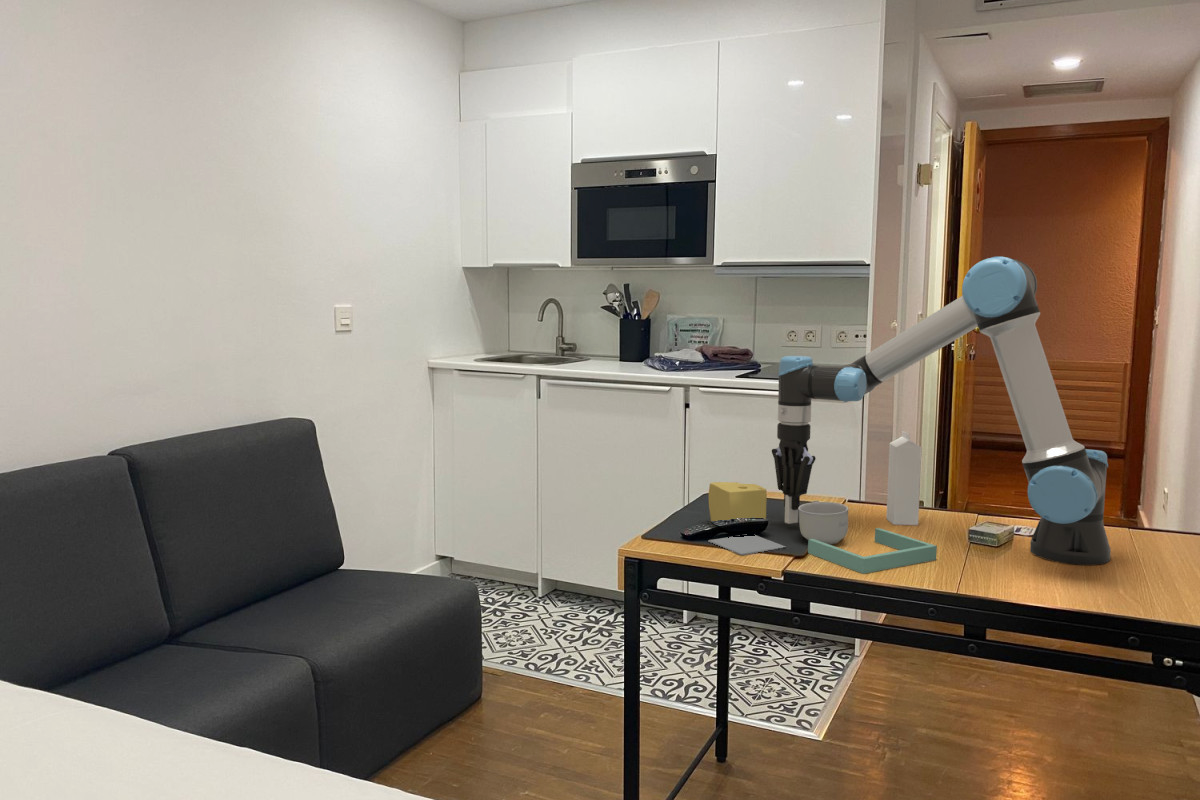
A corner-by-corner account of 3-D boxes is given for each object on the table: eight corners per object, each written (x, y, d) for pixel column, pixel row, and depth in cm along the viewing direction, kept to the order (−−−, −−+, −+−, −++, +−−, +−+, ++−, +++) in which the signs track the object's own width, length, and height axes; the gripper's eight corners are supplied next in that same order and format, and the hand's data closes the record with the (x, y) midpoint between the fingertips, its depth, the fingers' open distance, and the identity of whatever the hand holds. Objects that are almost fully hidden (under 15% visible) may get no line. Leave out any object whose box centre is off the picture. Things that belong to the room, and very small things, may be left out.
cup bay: (936, 559, 191) (936, 545, 191) (863, 573, 181) (863, 559, 181) (878, 541, 205) (879, 528, 205) (807, 553, 195) (808, 539, 195)
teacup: (848, 549, 199) (850, 513, 198) (797, 546, 201) (798, 510, 200) (845, 533, 212) (846, 499, 211) (797, 530, 214) (798, 496, 213)
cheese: (746, 519, 224) (747, 479, 223) (768, 530, 214) (769, 488, 213) (707, 523, 221) (708, 482, 220) (727, 534, 211) (728, 491, 210)
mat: (785, 548, 199) (786, 546, 199) (741, 555, 193) (741, 553, 193) (751, 535, 209) (751, 533, 209) (708, 542, 204) (708, 540, 204)
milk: (910, 519, 225) (915, 430, 223) (918, 525, 219) (923, 434, 217) (885, 518, 225) (889, 430, 223) (892, 525, 219) (897, 433, 217)
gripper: (763, 420, 217) (761, 518, 219) (800, 427, 205) (797, 530, 208) (788, 418, 220) (785, 514, 223) (825, 425, 209) (822, 526, 212)
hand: (791, 522), depth 216 cm, fingers closed
